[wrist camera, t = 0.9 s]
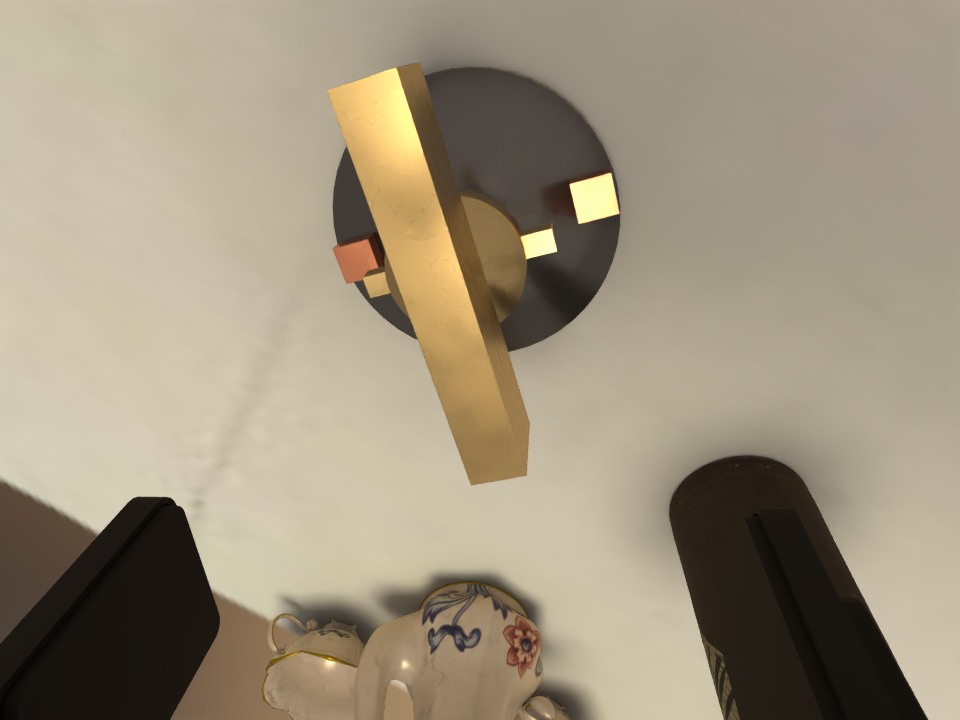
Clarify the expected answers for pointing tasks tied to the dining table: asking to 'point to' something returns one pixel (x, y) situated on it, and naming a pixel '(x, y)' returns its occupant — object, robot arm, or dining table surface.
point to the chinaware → (418, 663)
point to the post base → (507, 194)
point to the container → (711, 539)
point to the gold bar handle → (444, 263)
